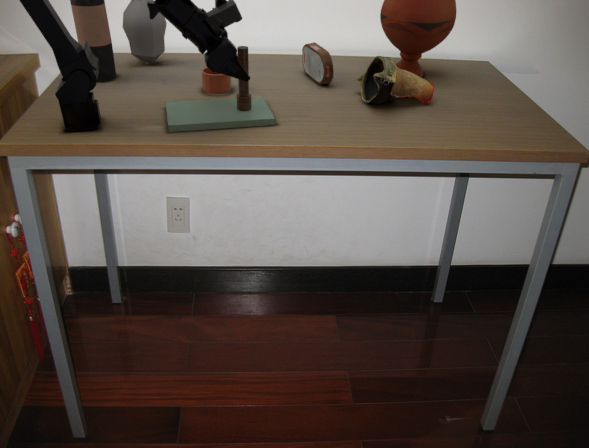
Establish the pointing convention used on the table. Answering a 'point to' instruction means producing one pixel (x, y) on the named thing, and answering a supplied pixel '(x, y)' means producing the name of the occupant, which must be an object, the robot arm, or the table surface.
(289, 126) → the table surface
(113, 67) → the travel mug
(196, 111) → the board
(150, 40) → the grey tall faceted solid
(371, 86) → the pot
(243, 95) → the stirrer
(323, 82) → the tin
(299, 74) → the table surface
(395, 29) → the goblet
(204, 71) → the cup
